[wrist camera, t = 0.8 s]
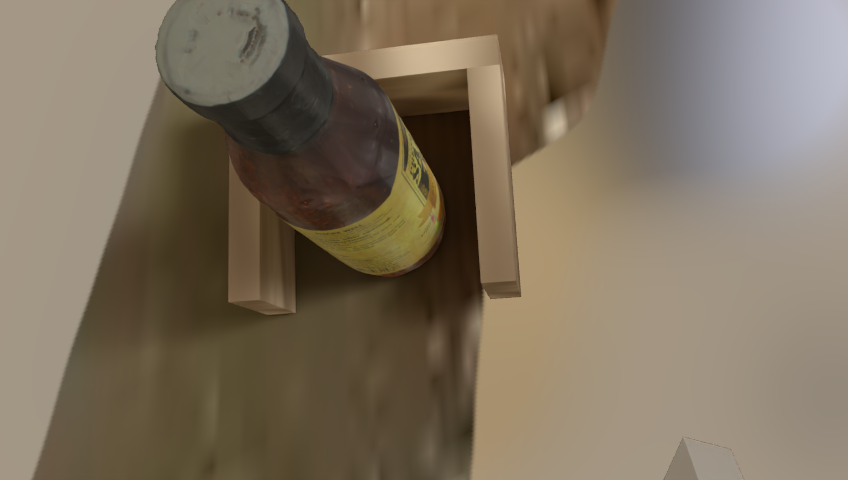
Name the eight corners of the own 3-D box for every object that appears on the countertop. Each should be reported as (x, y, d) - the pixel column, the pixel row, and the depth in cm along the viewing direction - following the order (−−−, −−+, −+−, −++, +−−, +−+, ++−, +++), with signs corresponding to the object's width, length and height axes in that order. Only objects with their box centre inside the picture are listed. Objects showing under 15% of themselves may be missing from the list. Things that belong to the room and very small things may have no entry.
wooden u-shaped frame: (504, 78, 41) (497, 34, 36) (521, 296, 38) (515, 280, 33) (266, 105, 43) (229, 67, 38) (267, 315, 40) (228, 302, 35)
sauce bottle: (475, 221, 39) (396, 43, 20) (385, 306, 39) (220, 209, 20) (390, 136, 41) (244, -103, 22) (303, 217, 41) (80, 48, 22)
